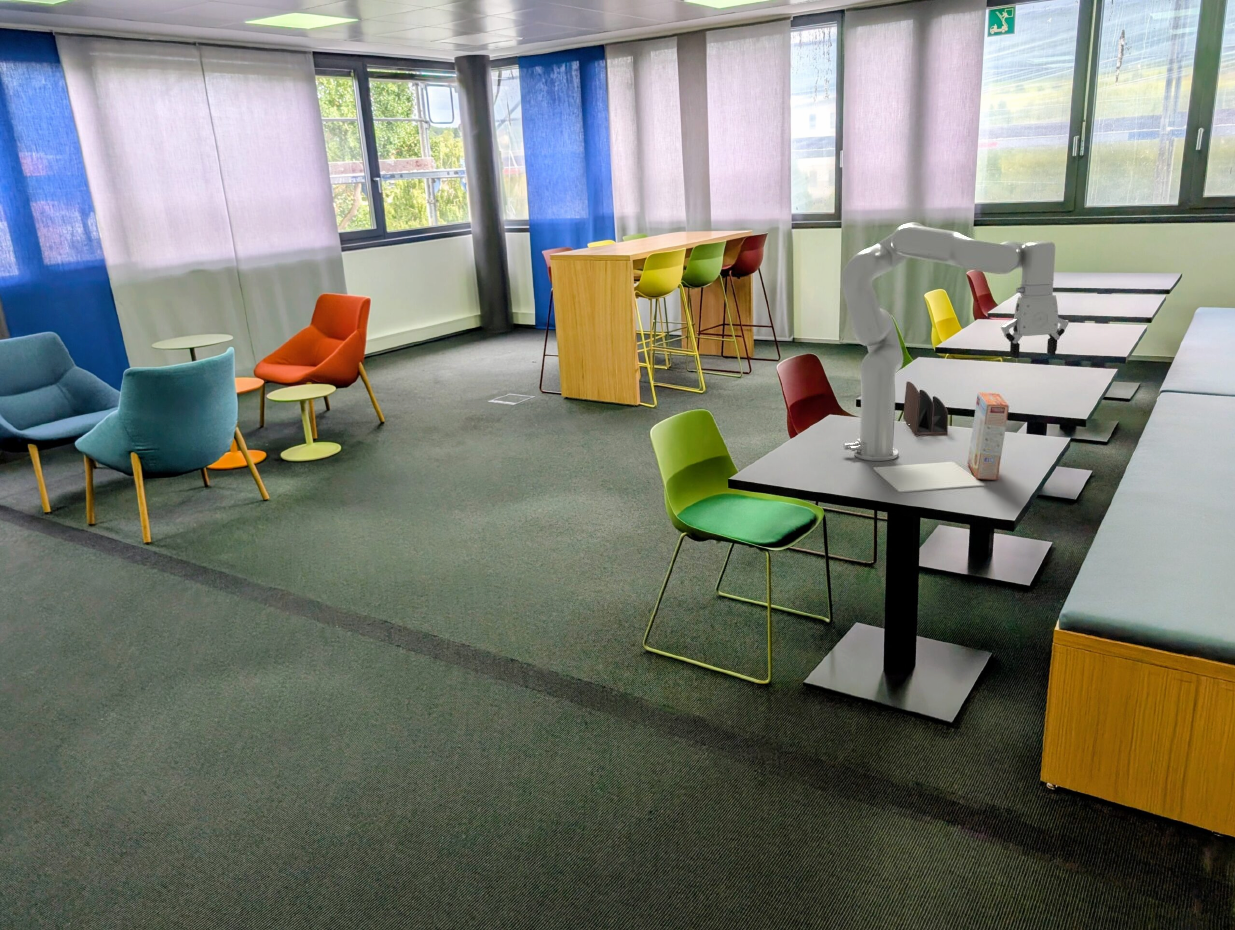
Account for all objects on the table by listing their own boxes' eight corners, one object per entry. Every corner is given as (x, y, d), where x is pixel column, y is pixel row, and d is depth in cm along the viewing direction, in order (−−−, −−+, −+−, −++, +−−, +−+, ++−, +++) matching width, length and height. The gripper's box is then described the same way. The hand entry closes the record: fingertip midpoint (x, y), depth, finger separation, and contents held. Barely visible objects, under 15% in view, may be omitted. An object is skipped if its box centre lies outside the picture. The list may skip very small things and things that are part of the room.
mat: (899, 492, 239) (899, 491, 238) (873, 468, 258) (873, 467, 257) (984, 486, 240) (984, 484, 240) (952, 462, 259) (952, 461, 259)
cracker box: (998, 481, 242) (1010, 405, 236) (975, 479, 244) (985, 403, 237) (989, 465, 255) (1000, 392, 249) (966, 463, 257) (976, 391, 250)
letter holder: (914, 436, 286) (917, 392, 281) (902, 419, 304) (904, 378, 300) (947, 435, 284) (950, 391, 280) (933, 418, 303) (936, 377, 299)
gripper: (1010, 295, 232) (1007, 361, 237) (1077, 289, 232) (1072, 355, 237) (997, 291, 239) (994, 356, 244) (1062, 286, 239) (1058, 350, 244)
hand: (1033, 355), depth 241 cm, fingers open, 9 cm apart
